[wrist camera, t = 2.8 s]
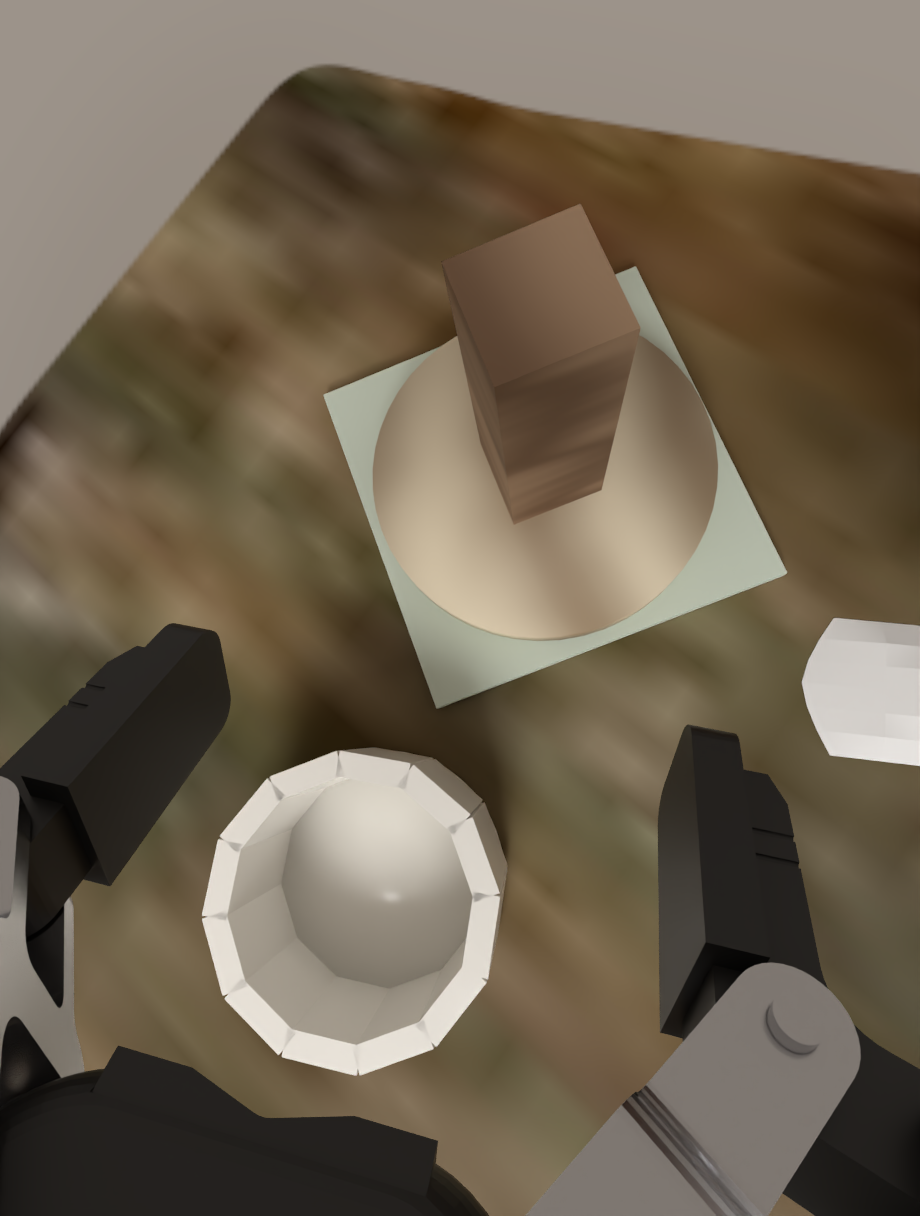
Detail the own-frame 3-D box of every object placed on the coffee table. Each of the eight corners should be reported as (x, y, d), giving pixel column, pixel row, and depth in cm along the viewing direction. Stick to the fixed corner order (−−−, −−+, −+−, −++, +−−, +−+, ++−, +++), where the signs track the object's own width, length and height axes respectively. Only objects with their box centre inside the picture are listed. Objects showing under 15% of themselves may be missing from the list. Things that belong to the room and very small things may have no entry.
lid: (629, 281, 28) (688, -27, 17) (768, 566, 26) (951, 431, 14) (337, 400, 29) (203, 182, 17) (443, 691, 26) (366, 659, 15)
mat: (634, 274, 29) (635, 266, 28) (782, 576, 26) (787, 572, 25) (326, 400, 29) (323, 394, 29) (438, 708, 27) (436, 708, 26)
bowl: (454, 716, 26) (434, 712, 22) (541, 954, 25) (541, 1009, 20) (240, 798, 27) (173, 813, 22) (310, 1038, 25) (254, 1114, 20)
